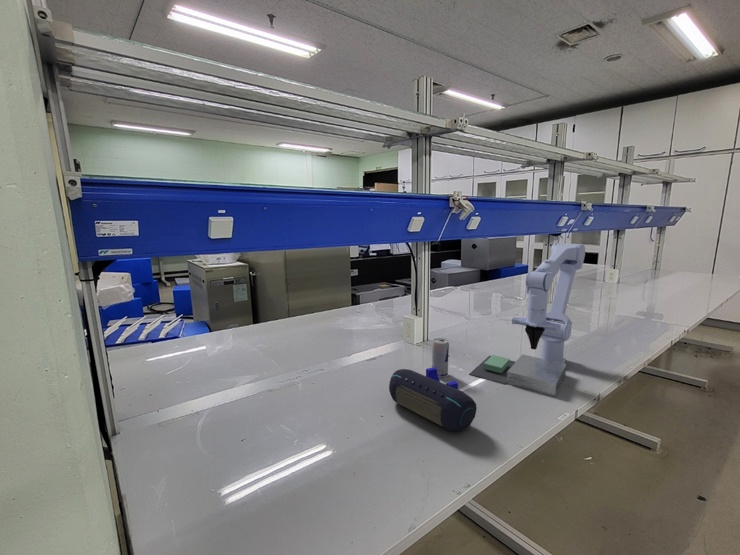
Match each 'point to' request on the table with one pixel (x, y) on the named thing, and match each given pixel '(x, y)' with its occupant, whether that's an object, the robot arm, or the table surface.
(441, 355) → the energy drink
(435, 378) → the cable clip
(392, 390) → the portable speaker
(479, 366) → the mat
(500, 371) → the thick sage green slab
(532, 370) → the deck
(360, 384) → the table surface
